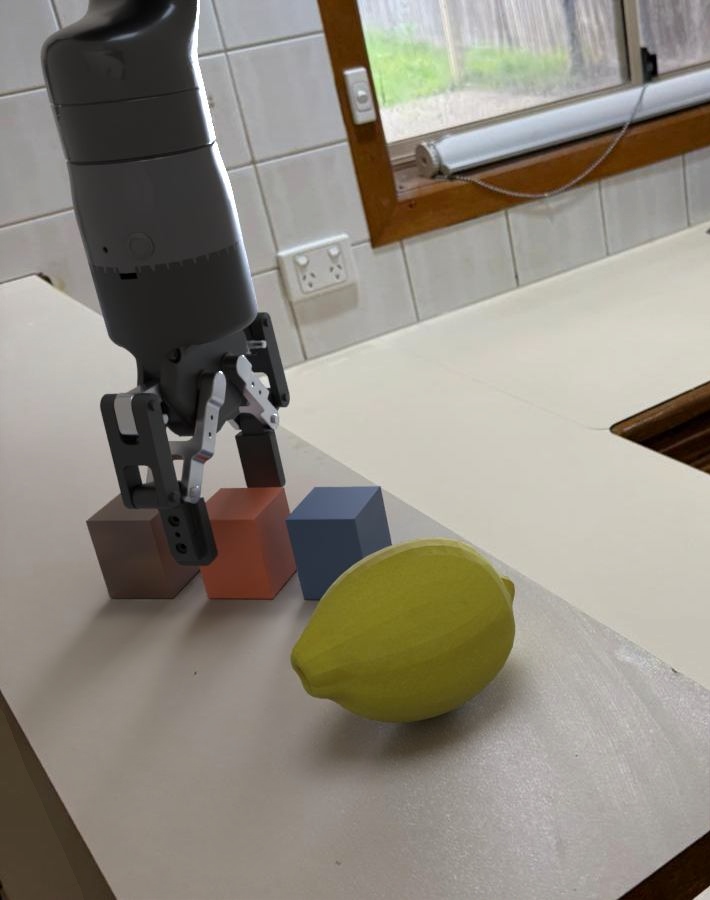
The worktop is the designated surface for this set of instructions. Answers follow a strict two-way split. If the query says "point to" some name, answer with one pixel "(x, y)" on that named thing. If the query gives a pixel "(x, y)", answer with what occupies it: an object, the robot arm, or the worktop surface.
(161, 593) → the walnut block
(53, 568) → the worktop surface
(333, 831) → the worktop surface
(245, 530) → the terracotta block
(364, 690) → the lemon
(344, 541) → the slate block
